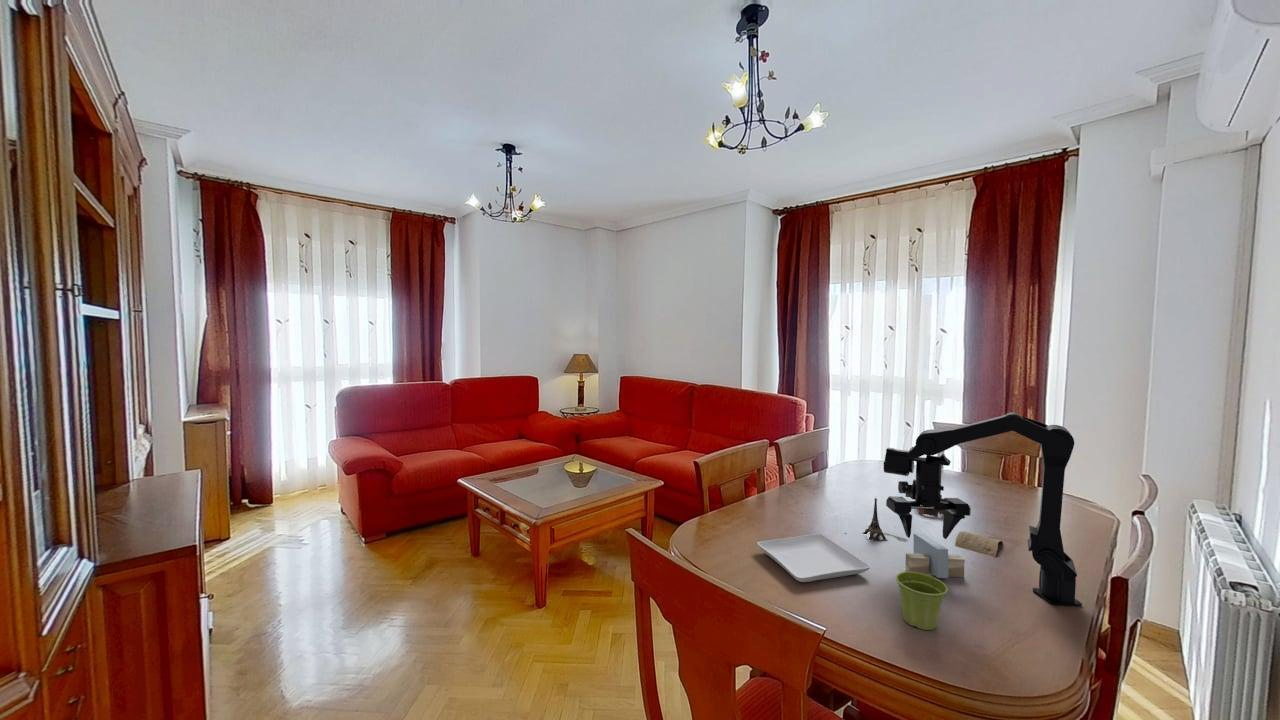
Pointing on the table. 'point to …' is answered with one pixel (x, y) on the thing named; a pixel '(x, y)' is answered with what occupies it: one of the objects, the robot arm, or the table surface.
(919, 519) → the table surface
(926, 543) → the pale blue plank
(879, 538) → the eiffel tower figurine
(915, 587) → the plant pot
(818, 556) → the salad plate
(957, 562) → the maple rail
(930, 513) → the pottery mug
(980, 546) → the clay tablet
